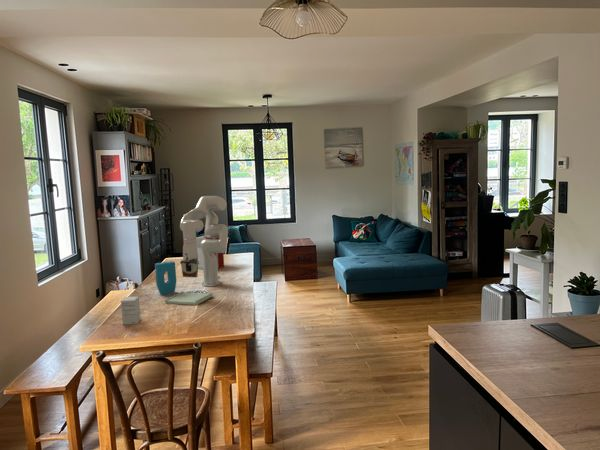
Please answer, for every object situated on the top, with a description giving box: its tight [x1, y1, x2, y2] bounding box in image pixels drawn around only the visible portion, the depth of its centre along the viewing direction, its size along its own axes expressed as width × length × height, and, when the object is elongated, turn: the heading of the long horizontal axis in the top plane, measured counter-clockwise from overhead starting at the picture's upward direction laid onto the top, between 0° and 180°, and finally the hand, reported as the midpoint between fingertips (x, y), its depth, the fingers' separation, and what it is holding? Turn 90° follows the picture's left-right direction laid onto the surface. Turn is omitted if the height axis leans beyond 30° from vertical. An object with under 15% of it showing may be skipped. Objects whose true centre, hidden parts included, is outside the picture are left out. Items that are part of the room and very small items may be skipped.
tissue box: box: [196, 235, 225, 271], centre depth 360 cm, size 16×18×27 cm
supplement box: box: [120, 295, 141, 325], centre depth 229 cm, size 7×7×13 cm
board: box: [164, 291, 213, 306], centre depth 268 cm, size 19×21×2 cm
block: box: [154, 261, 177, 296], centre depth 284 cm, size 12×5×20 cm, turn 123°
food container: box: [180, 259, 199, 279], centre depth 271 cm, size 12×6×10 cm, turn 72°
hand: (191, 270), depth 271 cm, fingers closed on food container, 6 cm apart
